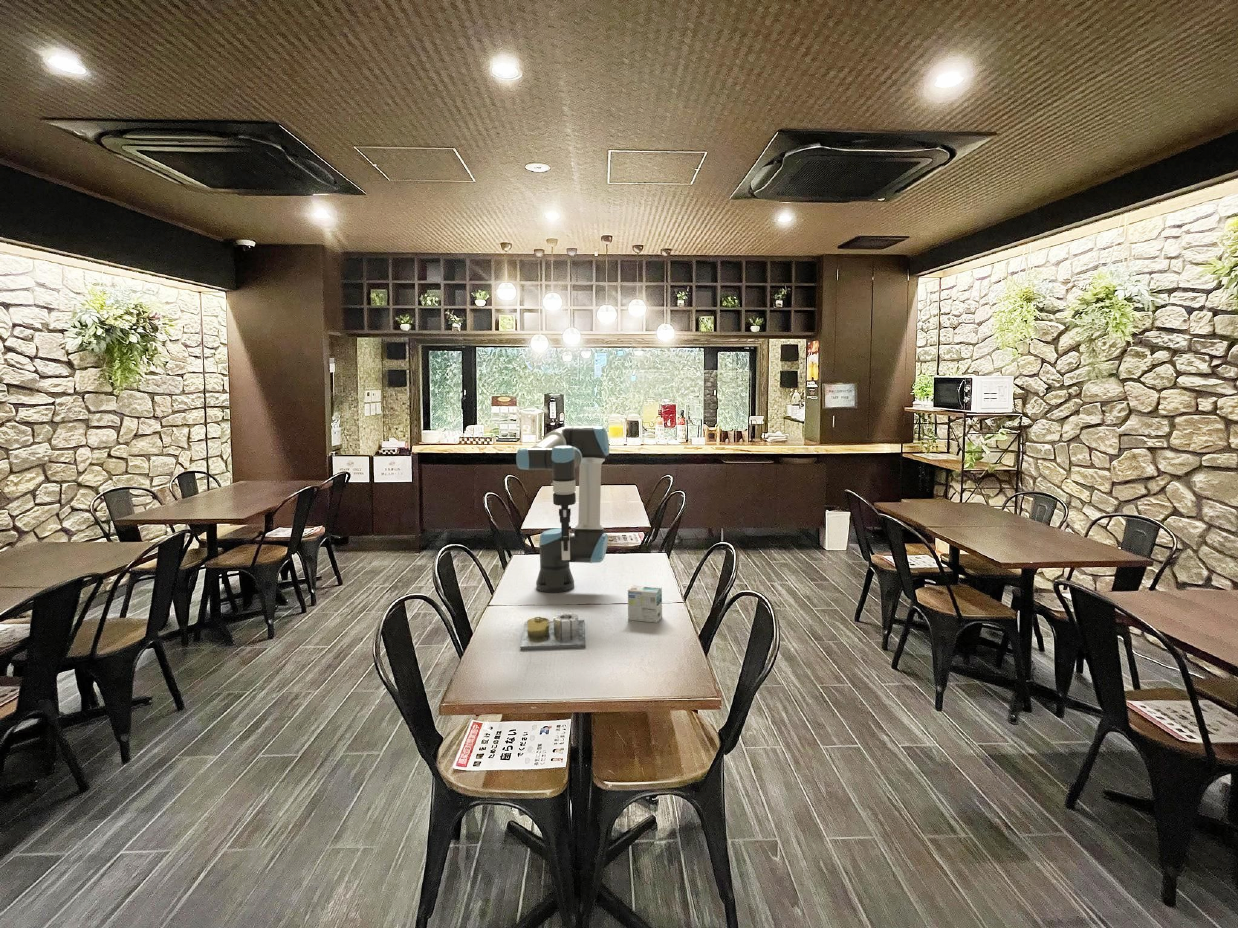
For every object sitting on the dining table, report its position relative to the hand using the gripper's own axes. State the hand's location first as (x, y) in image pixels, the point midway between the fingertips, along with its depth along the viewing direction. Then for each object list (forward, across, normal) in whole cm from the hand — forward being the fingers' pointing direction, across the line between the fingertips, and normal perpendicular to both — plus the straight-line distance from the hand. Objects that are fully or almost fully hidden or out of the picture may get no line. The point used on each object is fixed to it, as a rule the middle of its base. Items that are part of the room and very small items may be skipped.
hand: (566, 554), depth 237 cm
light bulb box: (+24, 0, +27) cm, 36 cm away
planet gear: (+22, +14, 0) cm, 26 cm away
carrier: (+23, +14, -4) cm, 27 cm away
